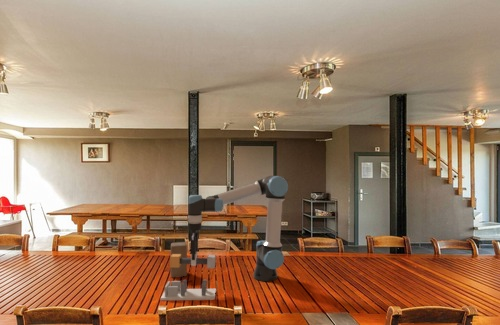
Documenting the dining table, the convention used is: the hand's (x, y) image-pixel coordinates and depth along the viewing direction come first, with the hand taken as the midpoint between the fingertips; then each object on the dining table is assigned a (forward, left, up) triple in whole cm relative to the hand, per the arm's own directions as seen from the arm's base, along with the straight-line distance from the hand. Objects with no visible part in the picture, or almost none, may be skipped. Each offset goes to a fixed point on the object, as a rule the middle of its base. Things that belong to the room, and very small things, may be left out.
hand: (194, 264), depth 173 cm
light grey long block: (+2, +6, -15) cm, 16 cm away
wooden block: (+14, -27, -15) cm, 34 cm away
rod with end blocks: (0, 0, -1) cm, 1 cm away
